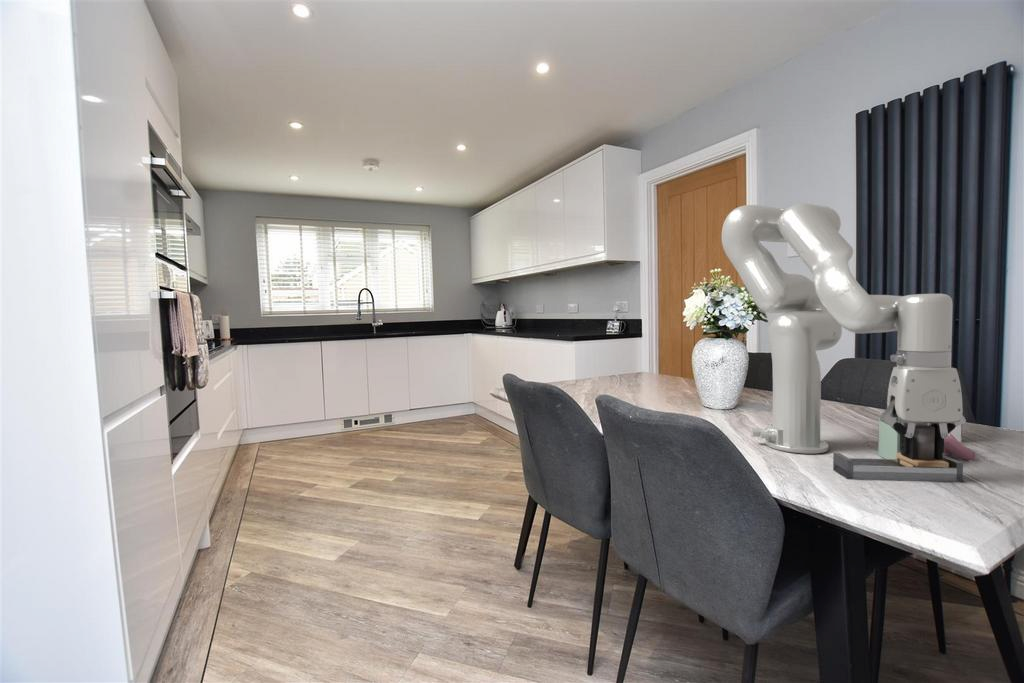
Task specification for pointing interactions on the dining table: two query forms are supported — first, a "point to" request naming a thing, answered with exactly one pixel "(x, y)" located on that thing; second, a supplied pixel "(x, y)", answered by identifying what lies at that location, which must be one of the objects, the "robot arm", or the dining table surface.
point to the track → (895, 469)
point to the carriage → (923, 449)
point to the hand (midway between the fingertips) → (921, 456)
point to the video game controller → (957, 448)
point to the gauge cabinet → (889, 440)
